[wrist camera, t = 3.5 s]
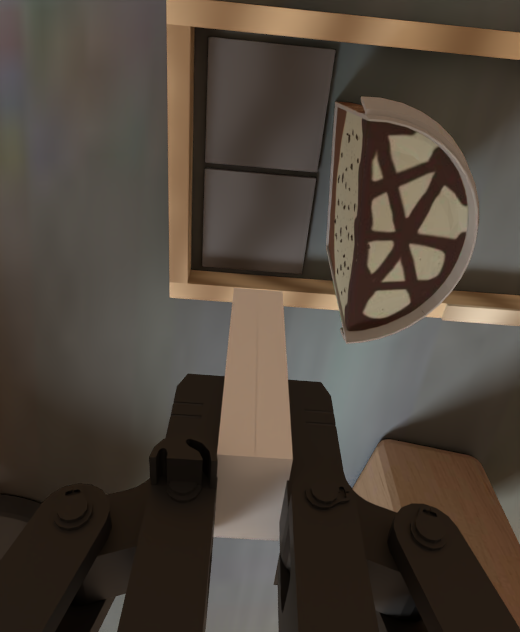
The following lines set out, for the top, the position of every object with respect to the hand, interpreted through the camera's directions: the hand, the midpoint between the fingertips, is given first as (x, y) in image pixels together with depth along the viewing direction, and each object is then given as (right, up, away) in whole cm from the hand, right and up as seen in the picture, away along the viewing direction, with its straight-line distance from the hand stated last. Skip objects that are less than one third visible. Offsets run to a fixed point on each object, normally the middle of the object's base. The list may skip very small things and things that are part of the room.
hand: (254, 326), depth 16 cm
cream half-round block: (+8, +9, +16) cm, 20 cm away
